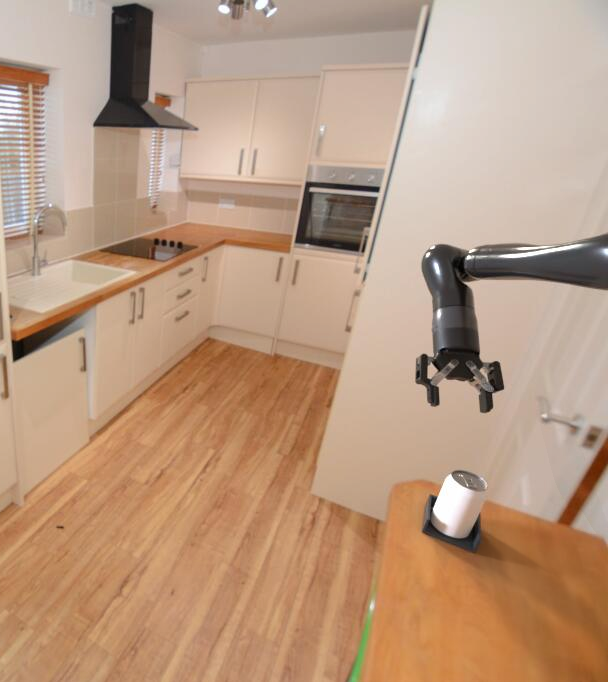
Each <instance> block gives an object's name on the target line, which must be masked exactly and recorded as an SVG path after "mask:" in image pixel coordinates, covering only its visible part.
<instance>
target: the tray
mask: <svg viewBox="0 0 608 682" xmlns="http://www.w3.org/2000/svg"><path fill="white" fill-rule="evenodd" d="M437 498H438V496H437V495H434V494H431V493H429V495H428V497H427V499H426V501H425V505H424V507H425V508H423V518H422V524H421V525H422V528H421V533H423V534H425V535H428V536H430V537H433V538H435V539H436V540H437V539H438V540H439V541H443V542H445V543H448V544H451V545H453V546H455V547H457V548H460V549H463V550H465V551H468V552H470V553H473V554H476V552H477V550H478V548H479V546H480V544H481V542H482V520H481V517H482V516H481V515H482V514H481V512H480V513H479V515H478V517H477V519H476V521H475V524H474V526H473V528H472V530H471V532H470V534H469V535H468V536H467V537H465V538H452V537H449V536H447V535H444V534H443V533H441V532H439V531H438V530H437V529H436V528H435V527H434V526H433V525H432V523H431V521H430V516H431V513H432V510H433V508H434V506H435V503H436V501H437Z"/></svg>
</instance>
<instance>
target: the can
mask: <svg viewBox="0 0 608 682" xmlns="http://www.w3.org/2000/svg"><path fill="white" fill-rule="evenodd" d="M488 490H489V484H488V482H487V480H485V479H483V478H482V477H481V476H479V475H477V474H476V473H473V472H471V471H468V470H464V469H456V470H453V471H451V473H450V474H449V475H447V476H446V478H445V479H444V482H443V484H442V486H441V489H440V491H439V494H438V496H437V497H438V498H437V501H436V503H435V506H434V508H432V509H433V510H432V513H431V516H430V521H431V523H432V525H433V526H434V527H435V528H436V529H437V530H438V531H439V532H441V533H443V534H444V535H447V536H449V537H452V538H465V537H467V536H468V535H469V534H470V532H471V530H472V528H473V526H474V524H475V521H476V519H477V517H478V515H479V513H480V514H481V511H482V509H483V507H484V504H485V503H486V501H487V499H488V495H489V492H488Z"/></svg>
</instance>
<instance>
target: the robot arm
mask: <svg viewBox="0 0 608 682" xmlns="http://www.w3.org/2000/svg"><path fill="white" fill-rule="evenodd" d="M420 266H421V267H420V268H421V269H420V270H421V273H422V277H423V279H424V282H425V284H426V287H427V289H428V291H429V293H430V296H431V305H432V308H431V309H432V320H431V335H432V352H433V353H432V354H433V356H429V355H428V354H426V353H422V354H420V355H419V356H417V357H416V358H415V377H414V379H415V381H414V382H415V384H416V385H421V386H424V387H425V388H426V401H427V403H428V404H429V405H430V407H432V408H436V407H438V406H440V403H441V402H440V401H441V400H440V386H438V384H440V383H441V382H442V380H444V379H445V380H447V381H458V382H464V383H465V382H467V383H468V384H469V386H471V387H473V388H474V389H475V390H476V391H477V392H478V393H479V394H478V404H479V405H478V406H479V413H481V414H487V413H490V412H491V410H494V397H493V394H496V393H498V392H501V391H503V390H505V383H504V378H503V372H502V366H501V363H500V361H498V360H493V361H492V362H489V361H483V360H482V359H481V356H480V355H481V347H480V335H479V323H478V318H477V314H476V307H475V297H474V291H473V288H472V287H470V285H468V284H466V283H473V282H479V281H539V282H547V283H554V284H555V283H556V284H563V285H569V286H575V287H580V288H586V289H591V290H599V291H605V292H607V291H608V231H607V232H604V233H601V234H599V235H595V236H592V237H591V236H590V237H587V238H586V237H585V238H582V239H578V240H572V241H567V242H562V243H556V244H534V243H527V242H505V243H504V242H503V243H489V244H482V245H478V246H475V247H473V248H472V249H465V248H461V247H458V246H454V245H452V244H447V243H438V244H437V243H436V244H434V245H432V246H430V247H429V248H428V249H427V250H426V251H425V252H424V254H423V256H422V258H421V264H420ZM431 364H432V366H433V367H434V368H435V369H436V370H437V371H436V372H435V373H434V374H433V375H432V376H431V377H430V378H429V377H428V373H429V372H428V371H429V366H431ZM481 369H482V370H483V372H484V373H485V374H486V376H485V375H484V374H483V373H482V372H481V371H480V370H481Z"/></svg>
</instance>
